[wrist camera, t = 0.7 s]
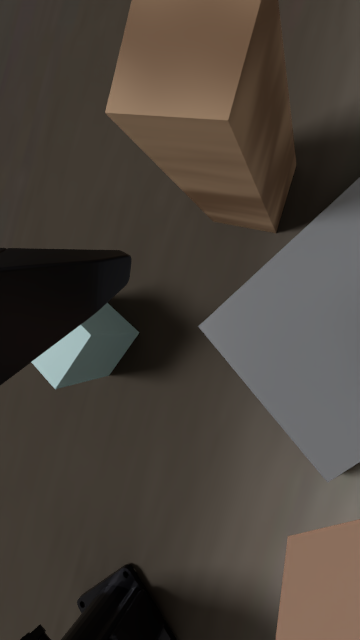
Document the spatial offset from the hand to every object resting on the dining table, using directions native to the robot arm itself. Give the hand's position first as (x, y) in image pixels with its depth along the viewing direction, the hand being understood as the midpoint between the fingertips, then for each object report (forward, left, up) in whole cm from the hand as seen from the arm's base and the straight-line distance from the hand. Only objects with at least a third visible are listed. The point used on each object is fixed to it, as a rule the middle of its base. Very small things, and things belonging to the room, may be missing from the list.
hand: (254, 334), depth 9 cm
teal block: (-11, +9, -13) cm, 19 cm away
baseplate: (+4, -2, -13) cm, 14 cm away
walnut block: (+4, +8, -13) cm, 16 cm away
